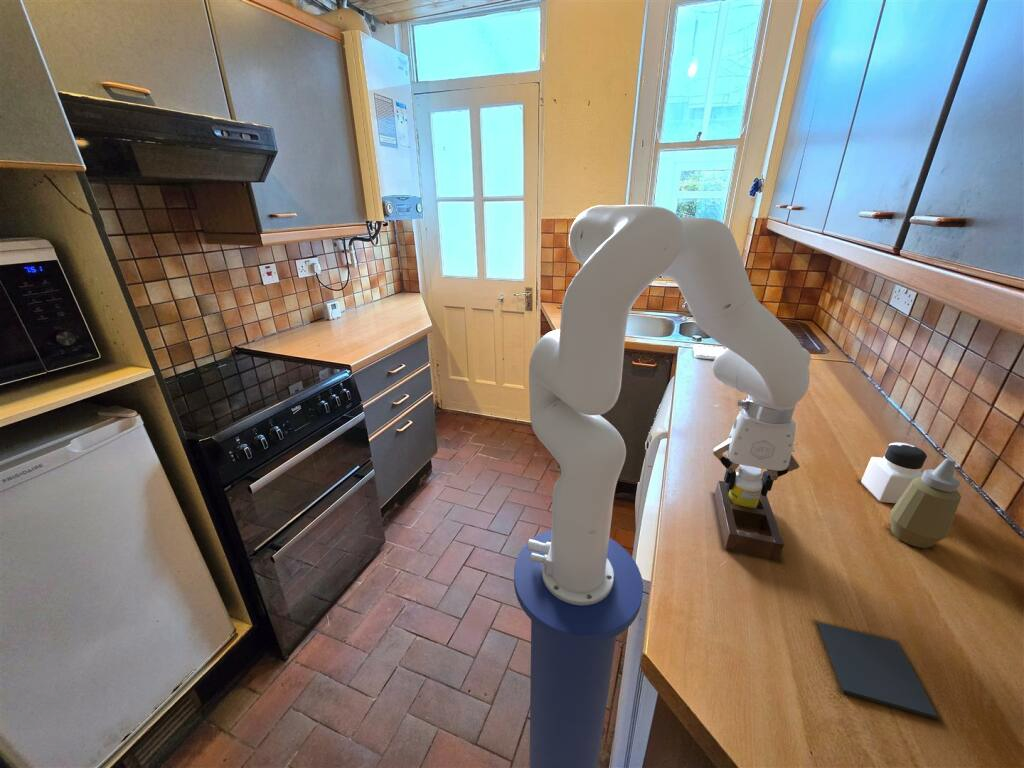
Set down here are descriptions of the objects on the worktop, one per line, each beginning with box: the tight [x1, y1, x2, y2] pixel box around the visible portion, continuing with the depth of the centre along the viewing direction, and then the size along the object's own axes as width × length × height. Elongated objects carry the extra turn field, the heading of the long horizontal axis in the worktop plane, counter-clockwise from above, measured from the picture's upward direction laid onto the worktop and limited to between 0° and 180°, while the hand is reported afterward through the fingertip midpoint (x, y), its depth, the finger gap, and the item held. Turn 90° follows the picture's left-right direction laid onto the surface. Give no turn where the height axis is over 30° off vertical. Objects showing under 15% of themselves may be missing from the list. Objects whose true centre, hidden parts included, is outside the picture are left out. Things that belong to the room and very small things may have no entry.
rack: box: [714, 480, 785, 562], centre depth 81 cm, size 9×16×4 cm, turn 162°
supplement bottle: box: [729, 465, 763, 509], centre depth 82 cm, size 5×5×10 cm
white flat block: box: [693, 344, 724, 361], centre depth 170 cm, size 13×20×2 cm, turn 69°
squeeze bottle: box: [889, 457, 962, 549], centre depth 75 cm, size 8×8×18 cm
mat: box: [817, 622, 939, 720], centre depth 57 cm, size 10×10×1 cm
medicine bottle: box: [860, 442, 928, 504], centre depth 87 cm, size 7×7×12 cm
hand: (745, 488), depth 82 cm, fingers closed on supplement bottle, 5 cm apart
